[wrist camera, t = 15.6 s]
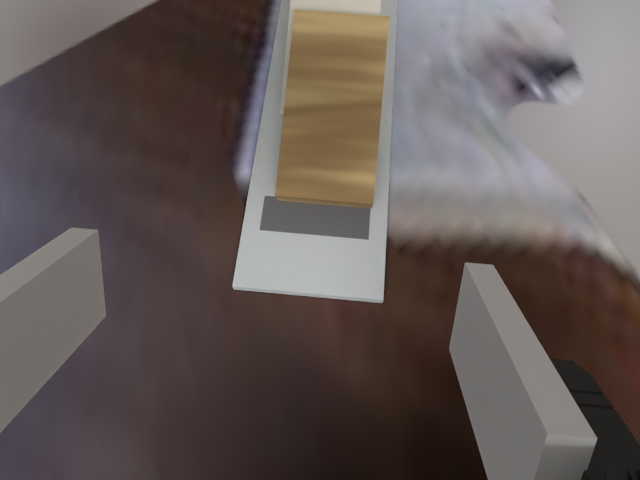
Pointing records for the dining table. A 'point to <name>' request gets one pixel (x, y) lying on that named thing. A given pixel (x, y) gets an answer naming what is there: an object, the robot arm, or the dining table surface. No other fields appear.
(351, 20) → the ochre tile
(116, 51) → the dining table surface
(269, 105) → the mat
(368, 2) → the ivory tile
